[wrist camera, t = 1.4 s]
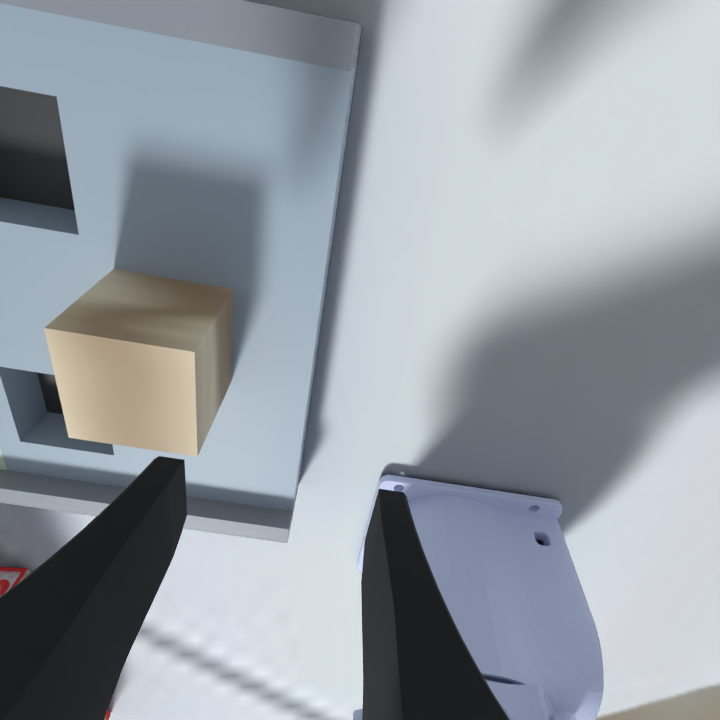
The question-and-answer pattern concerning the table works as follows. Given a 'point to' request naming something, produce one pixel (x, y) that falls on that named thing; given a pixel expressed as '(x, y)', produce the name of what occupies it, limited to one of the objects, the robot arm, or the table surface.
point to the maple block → (143, 361)
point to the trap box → (170, 225)
